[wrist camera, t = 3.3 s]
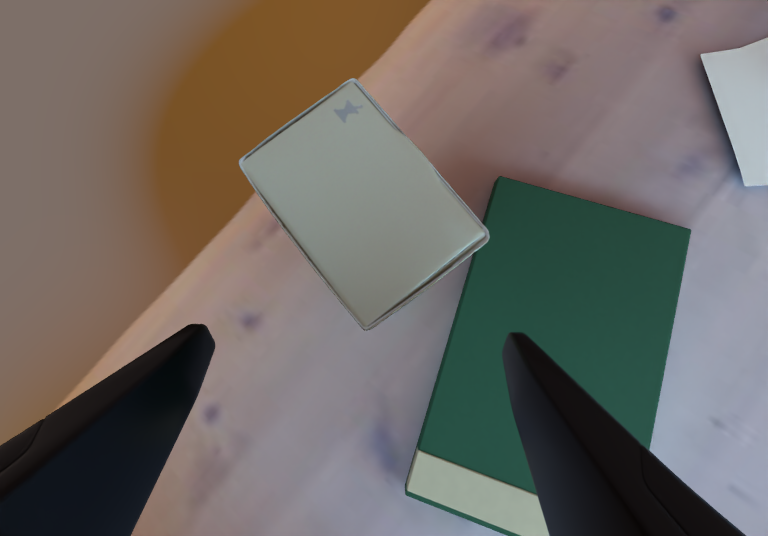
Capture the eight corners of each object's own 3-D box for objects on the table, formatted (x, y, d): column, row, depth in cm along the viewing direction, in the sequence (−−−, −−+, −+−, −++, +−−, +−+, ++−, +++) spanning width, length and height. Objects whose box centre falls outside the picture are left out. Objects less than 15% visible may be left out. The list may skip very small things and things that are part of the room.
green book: (611, 567, 17) (626, 584, 16) (404, 485, 18) (405, 496, 17) (677, 233, 19) (693, 228, 18) (494, 181, 21) (499, 174, 20)
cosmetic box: (326, 249, 20) (223, 152, 8) (377, 211, 21) (347, 63, 9) (385, 326, 19) (362, 340, 7) (437, 285, 20) (498, 232, 8)
